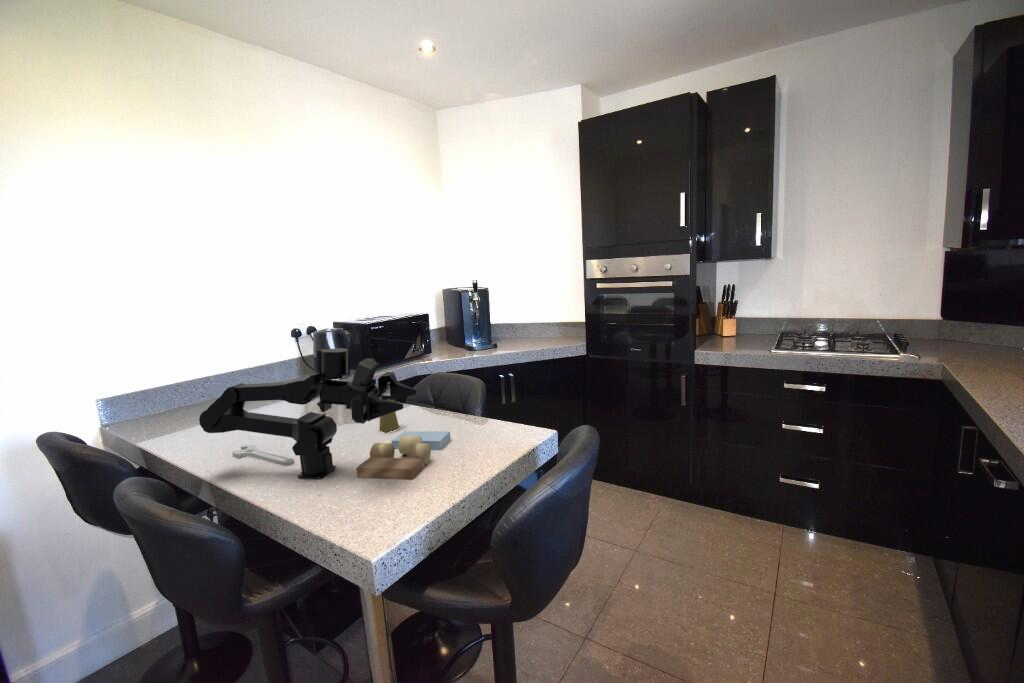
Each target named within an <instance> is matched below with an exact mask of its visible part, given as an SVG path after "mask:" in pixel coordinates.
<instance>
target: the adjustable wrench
mask: <svg viewBox="0 0 1024 683" xmlns="http://www.w3.org/2000/svg"><path fill="white" fill-rule="evenodd" d="M241 450H243V451H241ZM231 453H232V457H233V458H235V457H236V459H241V458H240V457H242V458H253V457H255V458H254V459H257V458H258V460H261V459H262V461H265V460H266V462H268V461H269V463H273V464H276V465H279V464H280V466H284V467H289V466H292V465H294V464H295V459H294V457H289V456H284V455H279V454H276V453H272V452H267V451H262V450H259V449H257V445H255V444H247V445H241V446H240V450H239V449H238V450H237V449H236V450H235V449H233V450H232V452H231ZM247 456H248V457H247ZM249 456H250V457H249Z"/></svg>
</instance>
